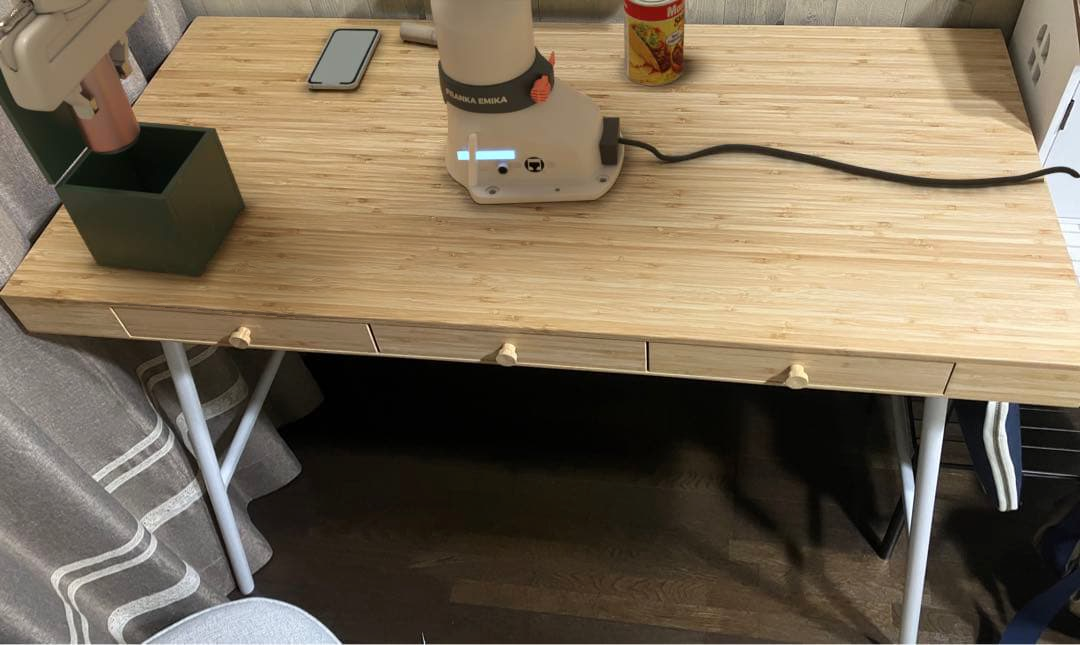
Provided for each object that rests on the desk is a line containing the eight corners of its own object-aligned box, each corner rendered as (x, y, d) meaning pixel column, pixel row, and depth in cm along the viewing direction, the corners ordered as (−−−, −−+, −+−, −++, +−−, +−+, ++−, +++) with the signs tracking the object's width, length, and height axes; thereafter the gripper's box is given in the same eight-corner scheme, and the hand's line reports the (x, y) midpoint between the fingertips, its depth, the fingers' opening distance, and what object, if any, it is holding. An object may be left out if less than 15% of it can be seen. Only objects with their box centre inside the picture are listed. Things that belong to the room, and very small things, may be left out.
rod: (400, 43, 147) (397, 26, 145) (409, 33, 148) (406, 16, 146) (473, 56, 143) (470, 39, 141) (481, 46, 145) (479, 29, 143)
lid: (54, 4, 108) (17, 4, 109) (-15, 71, 100) (-54, 70, 101) (112, 116, 118) (77, 114, 120) (54, 185, 110) (18, 182, 111)
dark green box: (245, 205, 125) (215, 127, 116) (200, 277, 116) (164, 199, 108) (148, 195, 127) (111, 119, 119) (96, 264, 119) (53, 188, 111)
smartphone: (381, 28, 148) (355, 85, 138) (383, 33, 149) (356, 91, 139) (333, 27, 150) (303, 84, 139) (335, 33, 150) (305, 90, 140)
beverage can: (81, 138, 112) (23, 14, 102) (133, 119, 114) (82, -4, 104) (95, 163, 109) (37, 37, 98) (149, 143, 111) (98, 17, 100)
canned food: (685, 83, 134) (688, 2, 126) (626, 88, 135) (625, 6, 126) (680, 51, 140) (682, -30, 131) (623, 55, 140) (621, -25, 131)
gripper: (18, 35, 90) (82, 158, 100) (131, -75, 103) (177, 44, 113) (-43, 31, 91) (27, 153, 101) (76, -77, 104) (127, 40, 114)
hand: (107, 94), depth 107 cm, fingers closed on beverage can, 6 cm apart
